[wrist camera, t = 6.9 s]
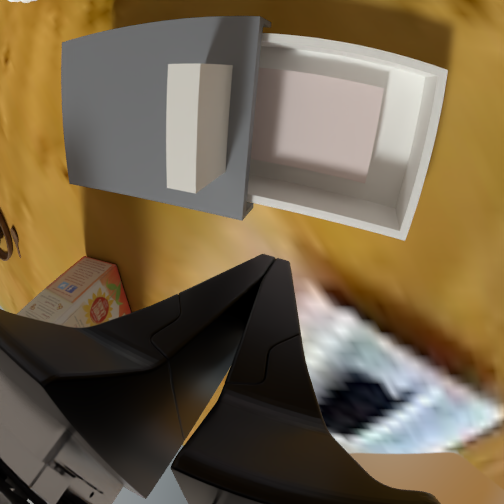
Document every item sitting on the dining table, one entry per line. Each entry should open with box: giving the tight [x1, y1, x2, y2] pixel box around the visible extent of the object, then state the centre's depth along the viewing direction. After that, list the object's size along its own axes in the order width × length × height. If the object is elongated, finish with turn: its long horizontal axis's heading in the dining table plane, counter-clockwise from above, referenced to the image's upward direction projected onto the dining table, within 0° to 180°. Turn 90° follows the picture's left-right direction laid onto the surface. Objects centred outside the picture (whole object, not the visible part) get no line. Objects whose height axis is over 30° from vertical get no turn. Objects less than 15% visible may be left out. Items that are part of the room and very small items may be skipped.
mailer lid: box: [61, 16, 271, 220], centre depth 16 cm, size 15×12×6 cm
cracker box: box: [16, 256, 131, 328], centre depth 28 cm, size 14×6×21 cm, turn 1°
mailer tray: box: [247, 33, 448, 241], centre depth 17 cm, size 14×10×4 cm
